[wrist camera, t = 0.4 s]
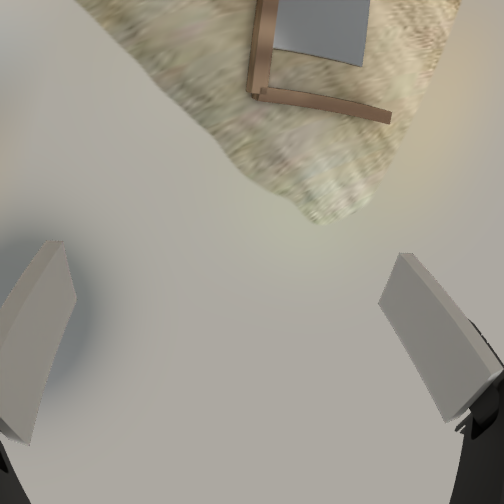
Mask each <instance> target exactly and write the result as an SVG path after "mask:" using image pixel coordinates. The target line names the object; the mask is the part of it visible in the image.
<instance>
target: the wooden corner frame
mask: <svg viewBox="0 0 504 504" xmlns="http://www.w3.org/2000/svg"><path fill="white" fill-rule="evenodd" d="M278 4H279V0H257V5H256V13H255V20H254V28H253V36H252V44H251V52H250V60H249V69H248V77H247V86H246V91H247V92H250V93H252V98H253V99H255V100H257V101H263V102H272V103H280V104H287V105H295V106H301V107H308V108H314V109H320V110H325V111H331V112H336V113H341V114H346V115H351V116H356V117H360V118H365V119H369V120H373V121H378V122H382V123H386V124H390V120H391V115H392V112H390V111H386V110H383V109H379V108H376V107H372V106H368V105H364V104H360V103H356V102H351V101H347V100H342V99H337V98H333V97H328V96H322V95H317V94H311V93H305V92H299V91H293V90H286V89H279V88H271V87H268V82H269V74H270V66H271V58H272V50H273V43H274V35H275V27H276V19H277V11H278Z"/></svg>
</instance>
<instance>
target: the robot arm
mask: <svg viewBox="0 0 504 504" xmlns="http://www.w3.org/2000/svg"><path fill="white" fill-rule="evenodd" d="M76 301H77V297H76V294H75V290H74V286H73V282H72V278H71V274H70V270H69V266H68V262H67V257H66V252H65V248H64V243H63V241H46V242H45V243H44V244H43V246H42V247H41V248H40V250H39V251H38V252H37V254H36V255H35V257H34V258H33V259H32V261H31V262H30V264H29V265H28V267H27V268H26V269H25V271H24V272H23V274H22V276H21V277H20V278H19V280H18V281H17V283H16V285H15V286H14V288H13V289H12V291H11V292H10V294H9V296H8V297H7V299H6V300H5V302H4V304H3V305H2V307H1V309H0V431H1V432H2V433H3V434H4V435H5V436H6V437H7V438H8V439H9V440H11V441H14V442H17V443H20V444H23V445H26V446H30V441H31V436H32V433H33V428H34V424H35V421H36V417H37V413H38V409H39V405H40V402H41V399H42V395H43V391H44V388H45V385H46V382H47V379H48V376H49V373H50V370H51V367H52V364H53V361H54V358H55V355H56V352H57V349H58V346H59V344H60V341H61V338H62V336H63V333H64V331H65V328H66V325H67V323H68V320H69V318H70V316H71V313H72V311H73V308H74V306H75V304H76ZM378 304H379V306H380V307H381V309H382V311H383V312H384V314H385V315H386V317H387V319H388V320H389V322H390V324H391V325H392V327H393V329H394V330H395V332H396V334H397V335H398V337H399V339H400V341H401V342H402V344H403V346H404V347H405V349H406V351H407V353H408V354H409V356H410V358H411V360H412V361H413V363H414V365H415V367H416V369H417V371H418V372H419V374H420V376H421V378H422V380H423V381H424V383H425V385H426V387H427V389H428V391H429V393H430V395H431V396H432V398H433V400H434V402H435V404H436V406H437V408H438V410H439V412H440V414H441V416H442V418H443V420H444V422H445V423H447V422H450V421H452V420H455V419H457V418H459V417H460V416H461V415H462V414H463V413H464V412H465V411H466V410H467V409H468V408H469V409H470V411H471V413H470V414H469V415H468V416H467V417H466V418H465V419H464V420H463V421H462V422H461V423H460V424H459V425H458V426H456V429H455V431H456V432H457V431H458V430H459V429H461V427H463V426H464V425H466V426H465V427H464V428H463V429H462V430H461V432H460V433H462V434H464V439H463V446H462V451H461V457H460V462H459V467H458V472H457V476H456V480H455V484H454V488H453V492H452V496H451V499H450V503H449V504H504V365H503V363H502V362H501V360H500V359H499V357H498V356H497V354H496V353H495V352H494V350H493V349H492V348H491V346H490V345H489V343H487V341H486V339H485V338H484V337H483V336H481V332H480V331H479V330H478V329H477V327H476V326H475V324H473V323H472V322H471V321H470V320H469V319H468V318H467V317H466V316H465V315H464V313H463V312H462V311H461V310H460V308H459V307H458V306H457V305H456V303H455V302H454V301H453V300H452V299H451V297H450V296H449V295H448V294H447V292H446V291H445V290H444V289H443V288H442V286H441V285H440V284H439V283H438V282H437V280H435V278H434V277H433V276H432V275H431V274H430V272H429V271H428V270H427V269H426V268H425V267H424V266H423V265H422V263H421V262H420V261H419V260H418V259H417V258H416V257H415V256H414V254H411V253H399V255H398V257H397V260H396V262H395V265H394V267H393V270H392V272H391V275H390V277H389V279H388V282H387V284H386V287H385V289H384V291H383V293H382V296H381V298H380V300H379V303H378ZM0 504H31V503H30V501H29V499H28V497H27V496H26V493H25V492H24V490H23V488H22V486H21V484H20V482H19V480H18V478H17V476H16V474H15V472H14V469H13V467H12V465H11V463H10V461H9V458H8V456H7V454H6V451H5V449H4V446H3V444H2V443H1V441H0Z"/></svg>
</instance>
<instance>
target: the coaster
mask: <svg viewBox="0 0 504 504" xmlns="http://www.w3.org/2000/svg"><path fill="white" fill-rule="evenodd" d="M369 6H370V0H279V4H278V11H277V19H276V27H275V35H274V43H273V49H279V50H285V51H291V52H297V53H302V54H308V55H313V56H318V57H322V58H327V59H331V60H335V61H340V62H344V63H347V64H351V65H355V66H359V67H362V64H363V57H364V49H365V41H366V33H367V25H368V16H369Z"/></svg>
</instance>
